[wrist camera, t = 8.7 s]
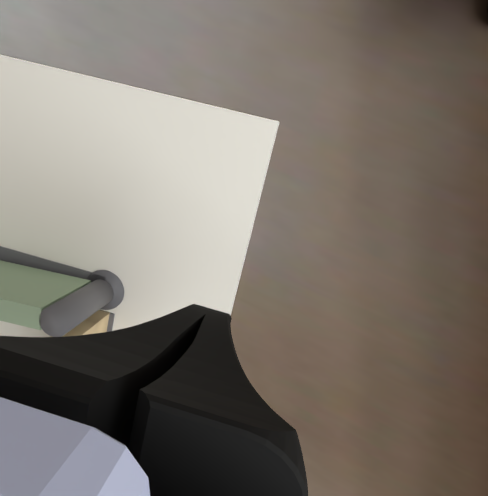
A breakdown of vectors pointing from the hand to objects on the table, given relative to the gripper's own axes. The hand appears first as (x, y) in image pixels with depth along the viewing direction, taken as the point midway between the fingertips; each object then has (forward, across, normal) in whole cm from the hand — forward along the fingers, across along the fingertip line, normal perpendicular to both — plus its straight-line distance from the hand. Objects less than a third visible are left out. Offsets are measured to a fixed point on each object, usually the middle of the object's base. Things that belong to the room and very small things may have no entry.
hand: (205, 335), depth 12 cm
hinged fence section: (+9, +14, +4) cm, 17 cm away
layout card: (+9, +10, +3) cm, 14 cm away
